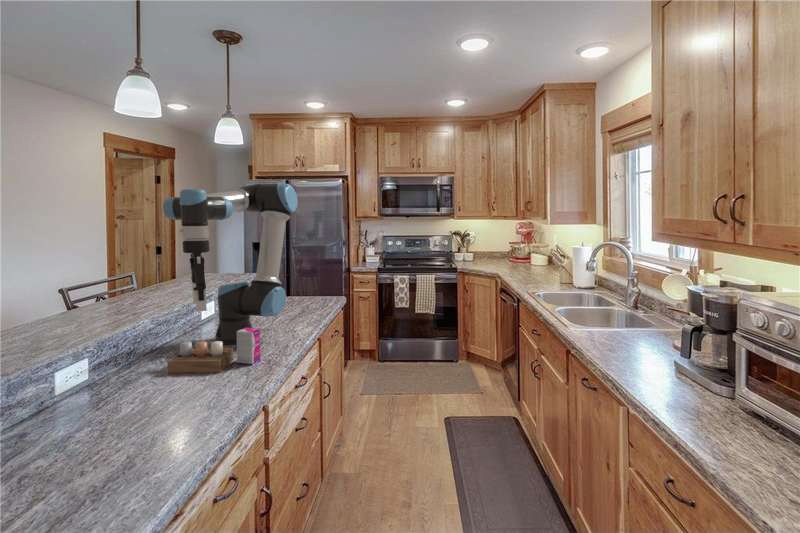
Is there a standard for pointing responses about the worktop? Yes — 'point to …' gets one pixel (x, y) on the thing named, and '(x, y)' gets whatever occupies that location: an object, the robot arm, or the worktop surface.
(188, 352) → the pale blue egg
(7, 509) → the worktop surface
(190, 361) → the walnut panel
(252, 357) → the supplement box
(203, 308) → the robot arm
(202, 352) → the brown egg
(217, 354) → the white egg
